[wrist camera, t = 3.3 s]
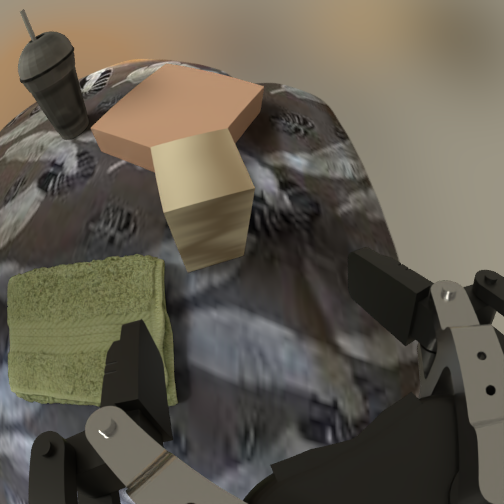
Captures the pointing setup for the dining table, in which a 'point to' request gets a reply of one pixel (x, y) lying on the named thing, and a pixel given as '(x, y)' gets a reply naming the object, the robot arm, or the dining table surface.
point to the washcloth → (82, 325)
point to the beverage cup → (54, 80)
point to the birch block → (204, 197)
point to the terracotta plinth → (176, 112)
